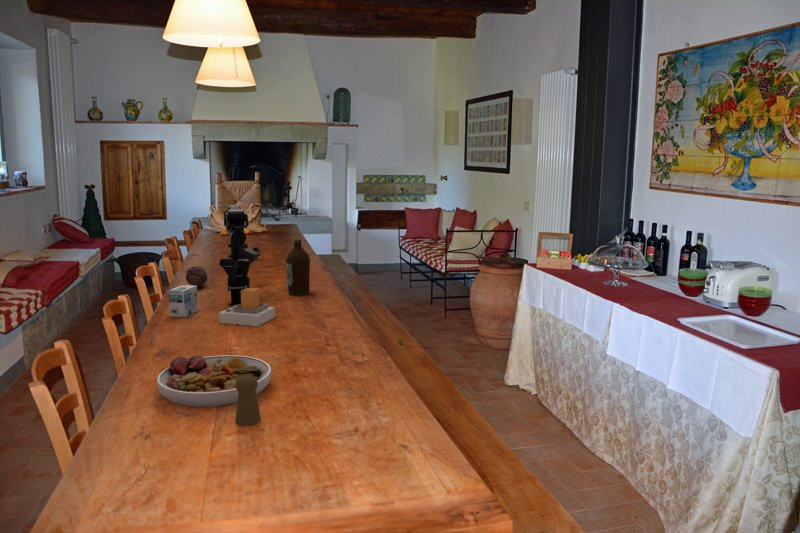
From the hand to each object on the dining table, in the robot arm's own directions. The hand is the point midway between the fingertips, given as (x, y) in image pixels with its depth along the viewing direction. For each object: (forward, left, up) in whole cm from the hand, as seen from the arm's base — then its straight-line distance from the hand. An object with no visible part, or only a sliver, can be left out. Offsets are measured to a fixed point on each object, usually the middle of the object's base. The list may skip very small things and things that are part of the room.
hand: (239, 280), depth 256 cm
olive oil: (-37, +8, -13) cm, 40 cm away
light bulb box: (+9, -20, -13) cm, 25 cm away
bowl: (+76, +37, -14) cm, 86 cm away
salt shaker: (+92, +56, -13) cm, 108 cm away
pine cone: (-35, -44, -13) cm, 58 cm away
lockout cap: (+10, +10, -9) cm, 17 cm away
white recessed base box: (+10, +9, -13) cm, 19 cm away
